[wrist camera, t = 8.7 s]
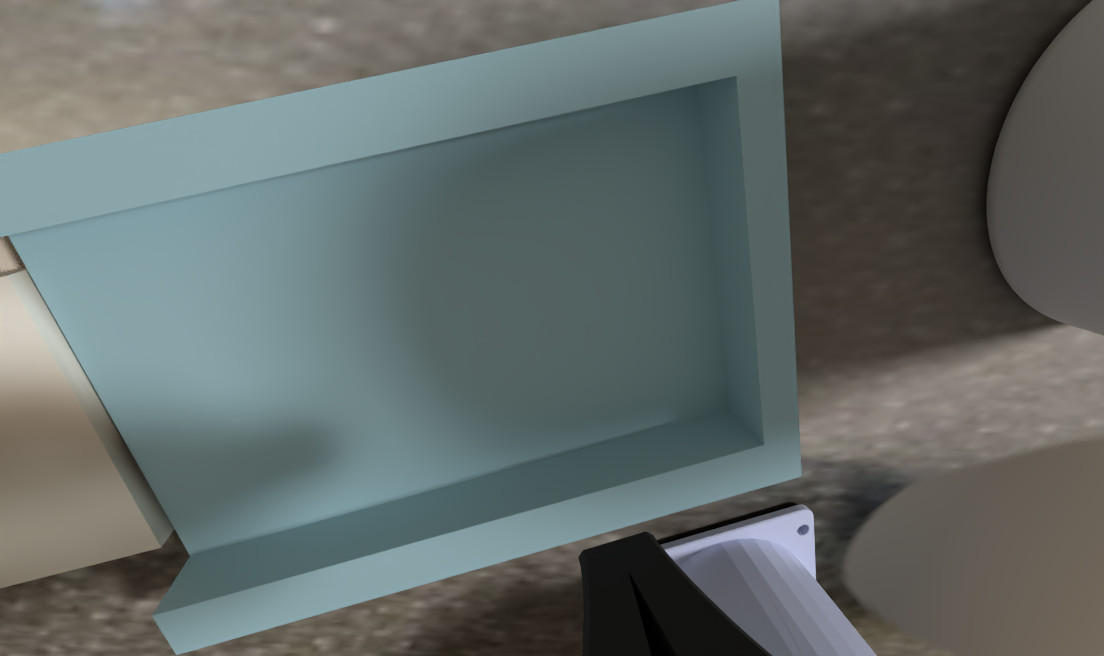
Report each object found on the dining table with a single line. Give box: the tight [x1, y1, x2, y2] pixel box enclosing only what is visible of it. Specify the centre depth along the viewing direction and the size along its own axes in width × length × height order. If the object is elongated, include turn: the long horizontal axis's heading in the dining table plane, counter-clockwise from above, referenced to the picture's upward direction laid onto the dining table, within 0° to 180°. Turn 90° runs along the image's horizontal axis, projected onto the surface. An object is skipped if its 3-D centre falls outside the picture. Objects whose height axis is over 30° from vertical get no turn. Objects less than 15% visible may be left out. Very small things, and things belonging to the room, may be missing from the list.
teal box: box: [0, 0, 802, 655], centre depth 16 cm, size 20×14×3 cm
